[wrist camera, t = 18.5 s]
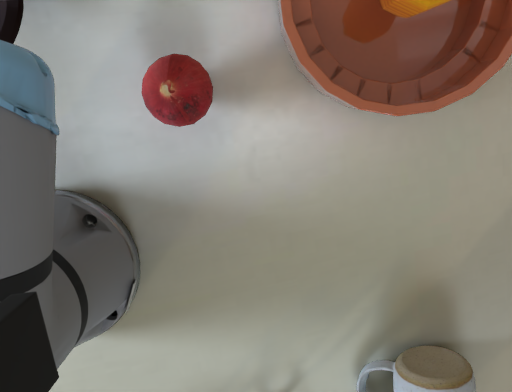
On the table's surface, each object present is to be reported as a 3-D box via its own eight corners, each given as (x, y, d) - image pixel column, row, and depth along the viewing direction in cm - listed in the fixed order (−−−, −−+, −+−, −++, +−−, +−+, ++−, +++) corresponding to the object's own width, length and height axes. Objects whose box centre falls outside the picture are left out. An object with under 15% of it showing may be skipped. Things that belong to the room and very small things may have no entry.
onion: (230, 97, 41) (221, 98, 33) (182, 135, 42) (162, 145, 34) (190, 44, 40) (170, 33, 33) (141, 85, 41) (111, 83, 34)
